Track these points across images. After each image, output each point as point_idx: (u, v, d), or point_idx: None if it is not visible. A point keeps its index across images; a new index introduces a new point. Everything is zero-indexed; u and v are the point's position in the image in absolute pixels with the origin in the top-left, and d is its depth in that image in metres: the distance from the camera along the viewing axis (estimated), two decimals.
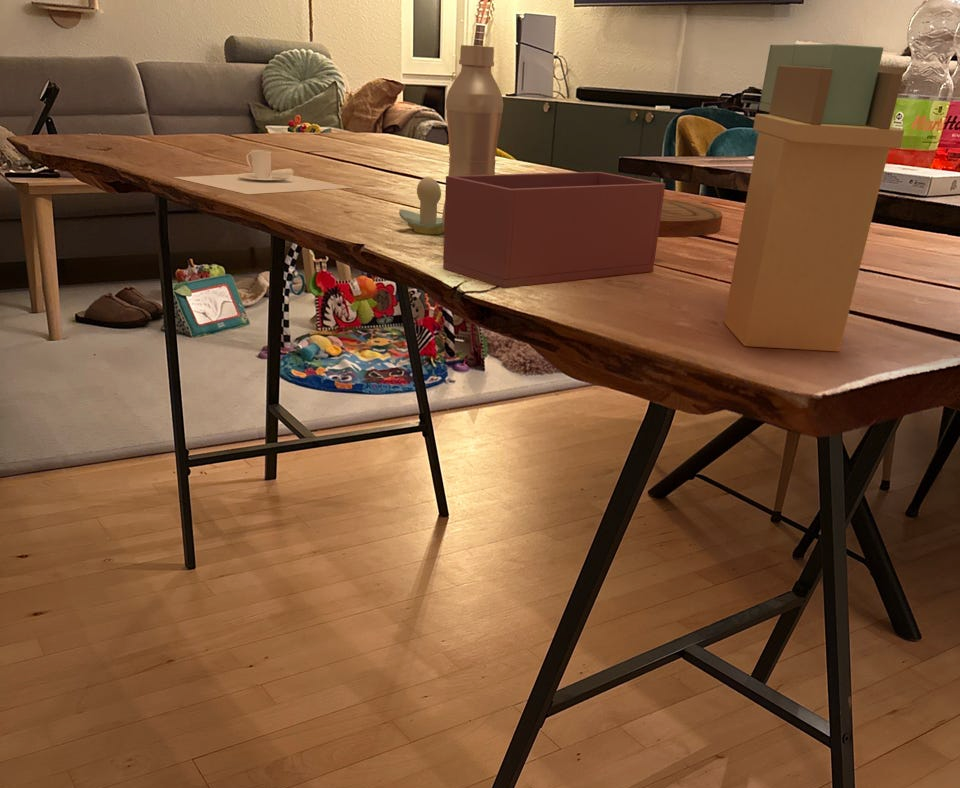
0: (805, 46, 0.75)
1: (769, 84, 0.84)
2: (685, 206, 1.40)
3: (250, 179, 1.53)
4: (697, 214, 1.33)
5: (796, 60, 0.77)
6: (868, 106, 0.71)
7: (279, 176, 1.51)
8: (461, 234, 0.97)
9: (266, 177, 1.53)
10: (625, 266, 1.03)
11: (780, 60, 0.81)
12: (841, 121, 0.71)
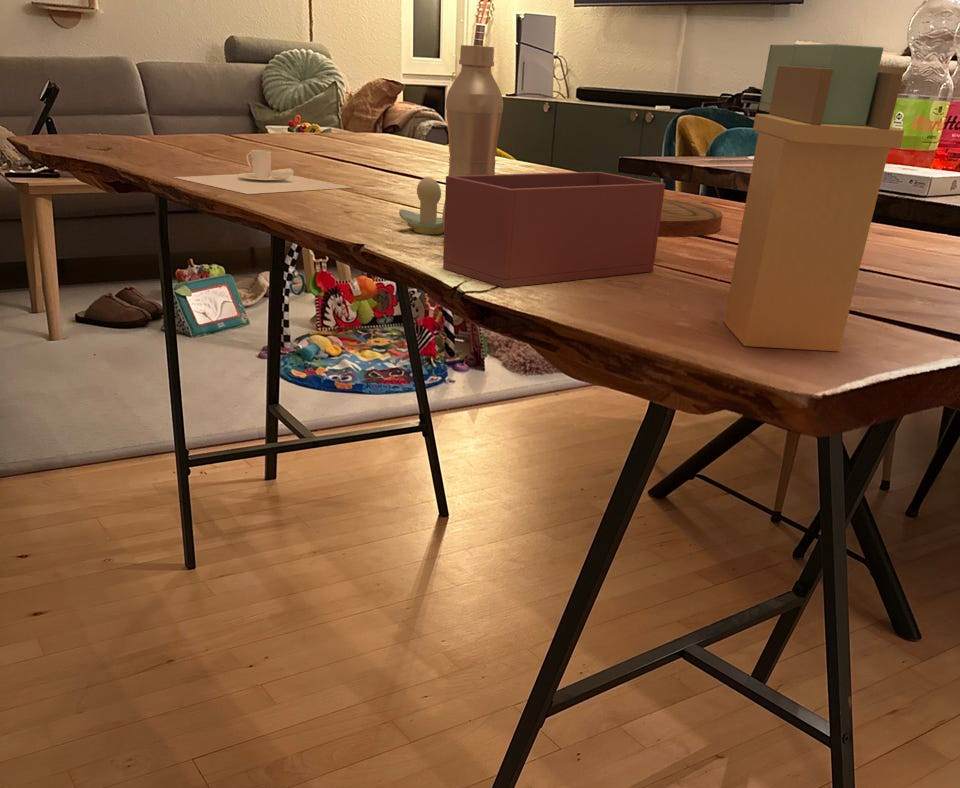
0: (805, 46, 0.75)
1: (769, 84, 0.84)
2: (685, 206, 1.40)
3: (250, 179, 1.53)
4: (697, 214, 1.33)
5: (796, 60, 0.77)
6: (868, 106, 0.71)
7: (279, 176, 1.51)
8: (461, 234, 0.97)
9: (266, 177, 1.53)
10: (625, 266, 1.03)
11: (780, 60, 0.81)
12: (841, 121, 0.71)
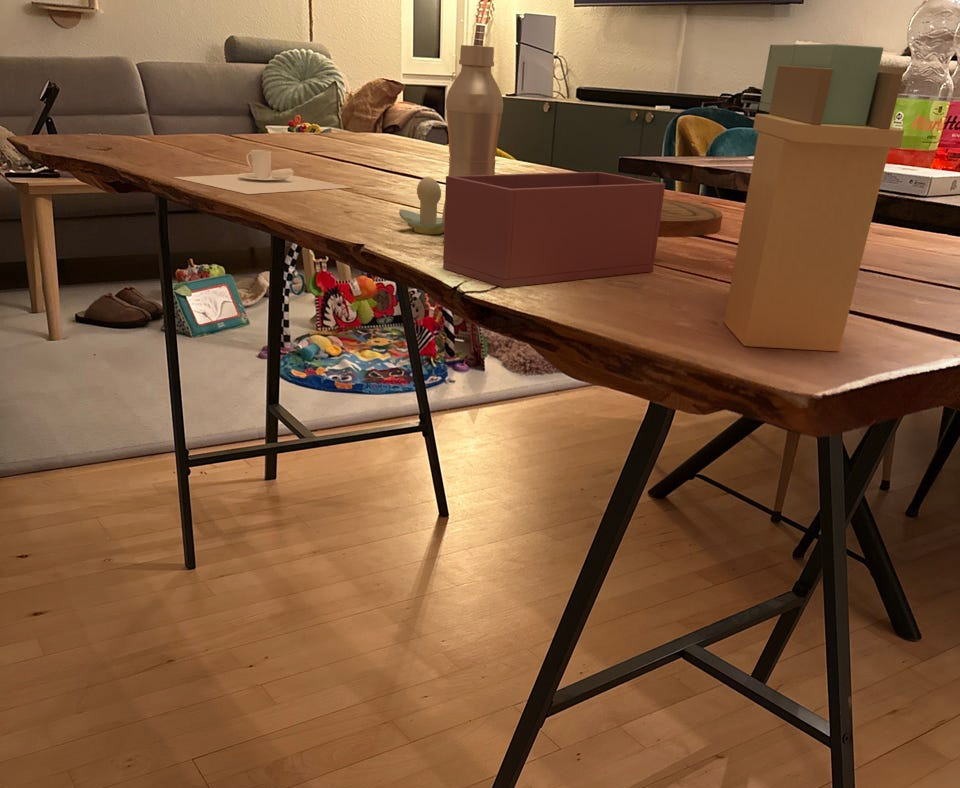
0: (805, 46, 0.75)
1: (769, 84, 0.84)
2: (685, 206, 1.40)
3: (250, 179, 1.53)
4: (697, 214, 1.33)
5: (796, 60, 0.77)
6: (868, 106, 0.71)
7: (279, 176, 1.51)
8: (461, 234, 0.97)
9: (266, 177, 1.53)
10: (625, 266, 1.03)
11: (780, 60, 0.81)
12: (841, 121, 0.71)
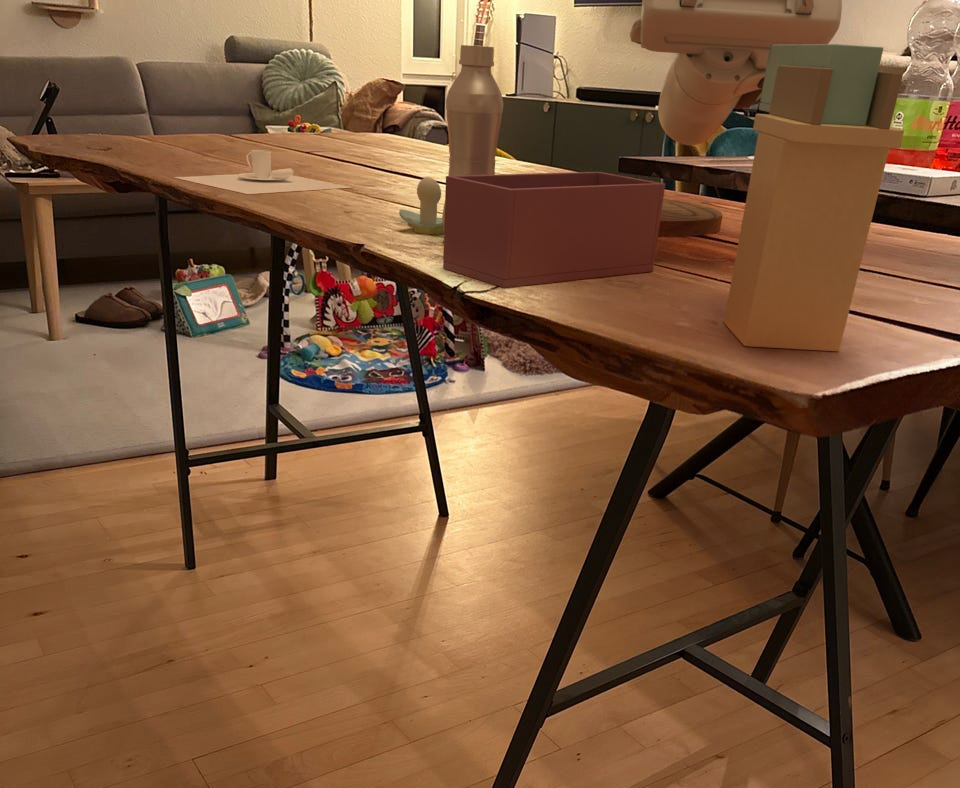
0: (805, 46, 0.75)
1: (769, 84, 0.84)
2: (685, 206, 1.40)
3: (250, 179, 1.53)
4: (697, 214, 1.33)
5: (796, 60, 0.77)
6: (868, 106, 0.71)
7: (279, 176, 1.51)
8: (461, 234, 0.97)
9: (266, 177, 1.53)
10: (625, 266, 1.03)
11: (780, 60, 0.81)
12: (841, 121, 0.71)
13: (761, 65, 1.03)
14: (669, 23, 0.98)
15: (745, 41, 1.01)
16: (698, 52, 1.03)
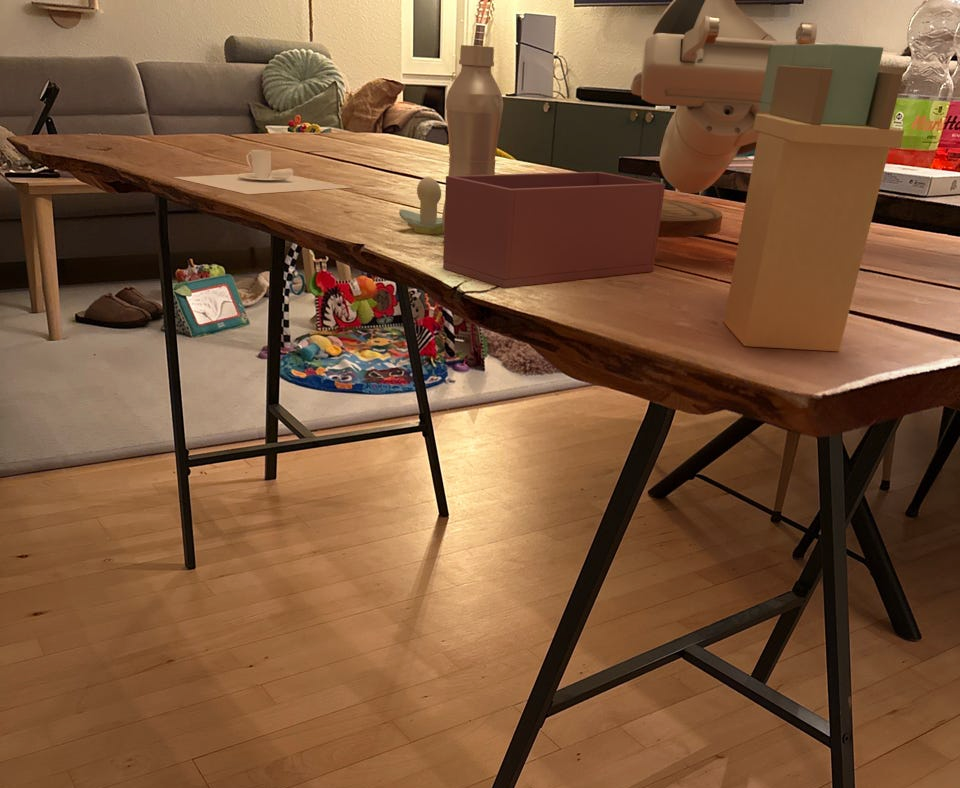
0: (805, 46, 0.75)
1: (769, 84, 0.84)
2: (685, 206, 1.40)
3: (250, 179, 1.53)
4: (697, 214, 1.33)
5: (796, 60, 0.77)
6: (868, 106, 0.71)
7: (279, 176, 1.51)
8: (461, 234, 0.97)
9: (266, 177, 1.53)
10: (625, 266, 1.03)
11: (780, 60, 0.81)
12: (841, 121, 0.71)
13: None
14: (669, 77, 0.99)
15: (746, 95, 1.02)
16: (698, 105, 1.04)
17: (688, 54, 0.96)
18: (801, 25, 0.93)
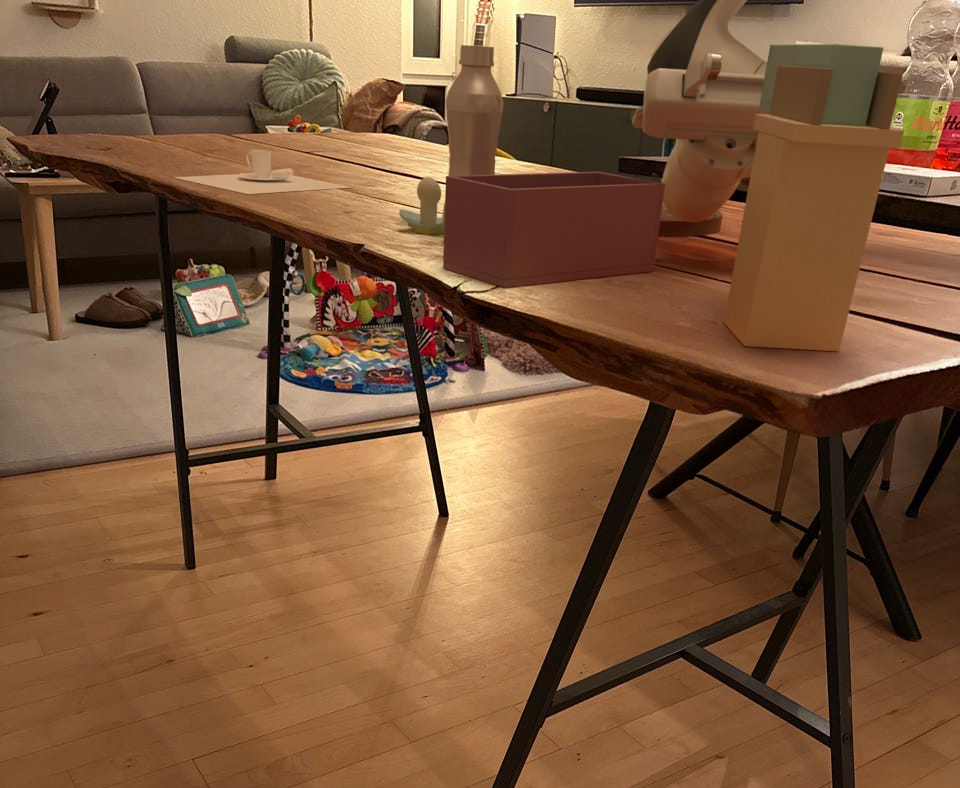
0: (805, 46, 0.75)
1: (769, 84, 0.84)
2: None
3: (250, 179, 1.53)
4: None
5: (796, 60, 0.77)
6: (868, 106, 0.71)
7: (279, 176, 1.51)
8: (461, 234, 0.97)
9: (266, 177, 1.53)
10: (625, 266, 1.03)
11: (780, 60, 0.81)
12: (841, 121, 0.71)
13: None
14: (671, 112, 0.98)
15: (748, 129, 1.01)
16: (700, 138, 1.03)
17: (690, 90, 0.95)
18: None
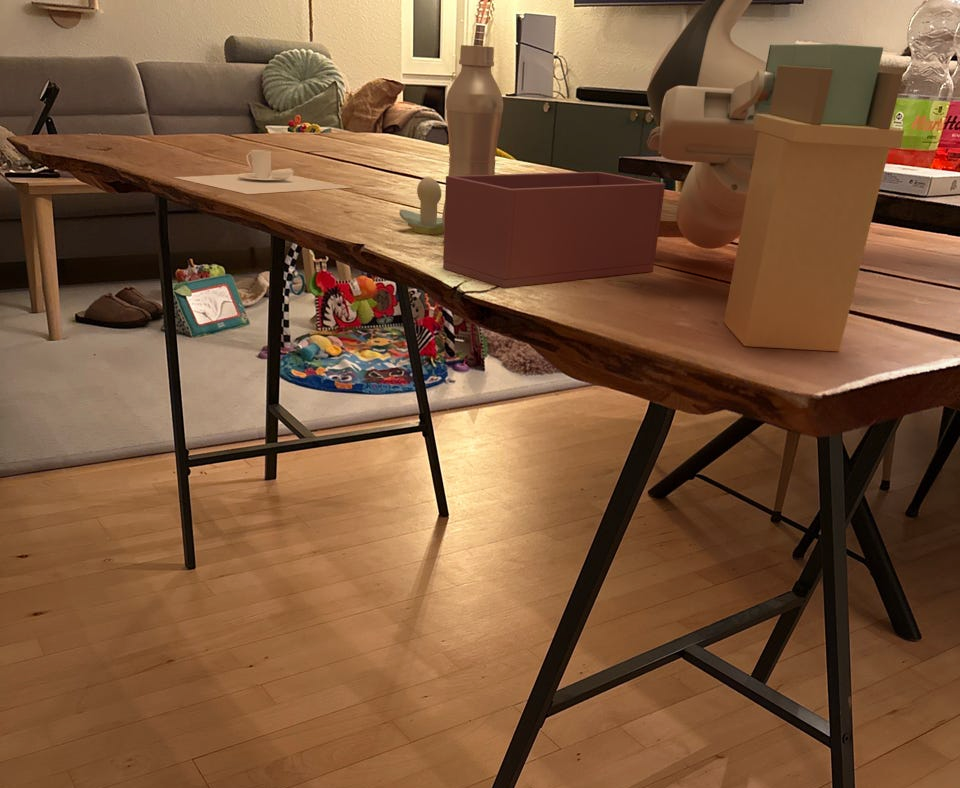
0: (805, 46, 0.75)
1: None
2: None
3: (250, 179, 1.53)
4: None
5: (796, 60, 0.77)
6: (868, 106, 0.71)
7: (279, 176, 1.51)
8: (461, 234, 0.97)
9: (266, 177, 1.53)
10: (625, 266, 1.03)
11: (780, 60, 0.81)
12: (840, 121, 0.71)
13: None
14: (692, 134, 0.88)
15: None
16: (723, 161, 0.93)
17: (738, 111, 0.86)
18: None
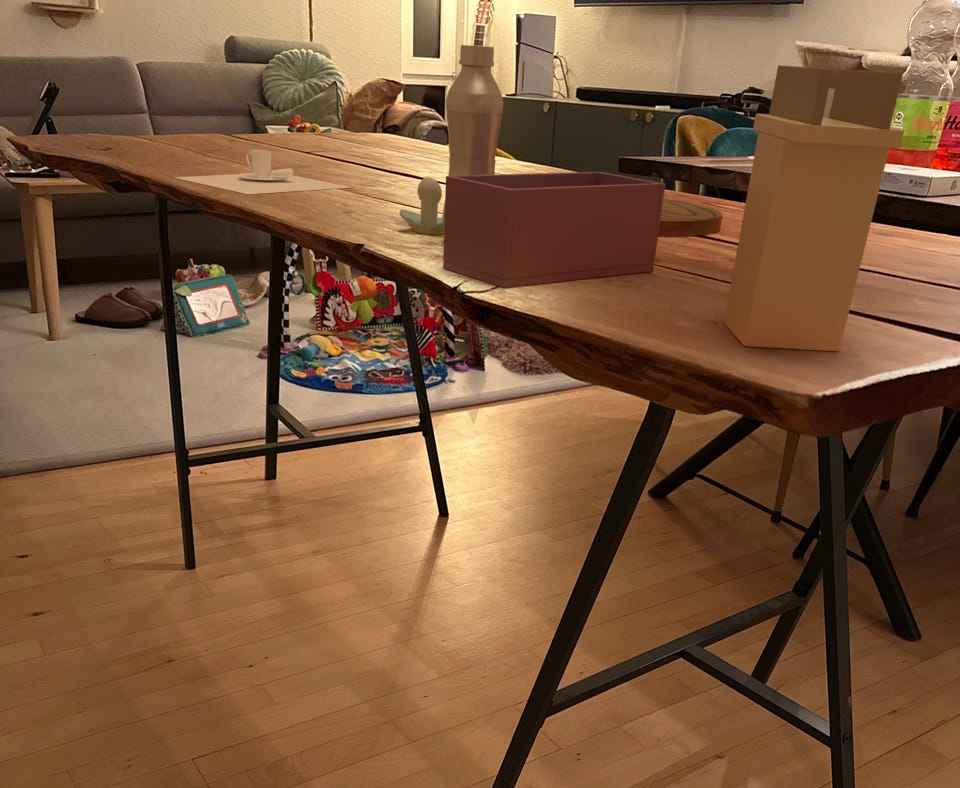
0: None
1: None
2: (685, 206, 1.40)
3: (250, 179, 1.53)
4: (697, 214, 1.33)
5: None
6: None
7: (279, 176, 1.51)
8: (461, 234, 0.97)
9: (266, 177, 1.53)
10: (625, 266, 1.03)
11: None
12: None
13: None
14: None
15: None
16: None
17: None
18: None
